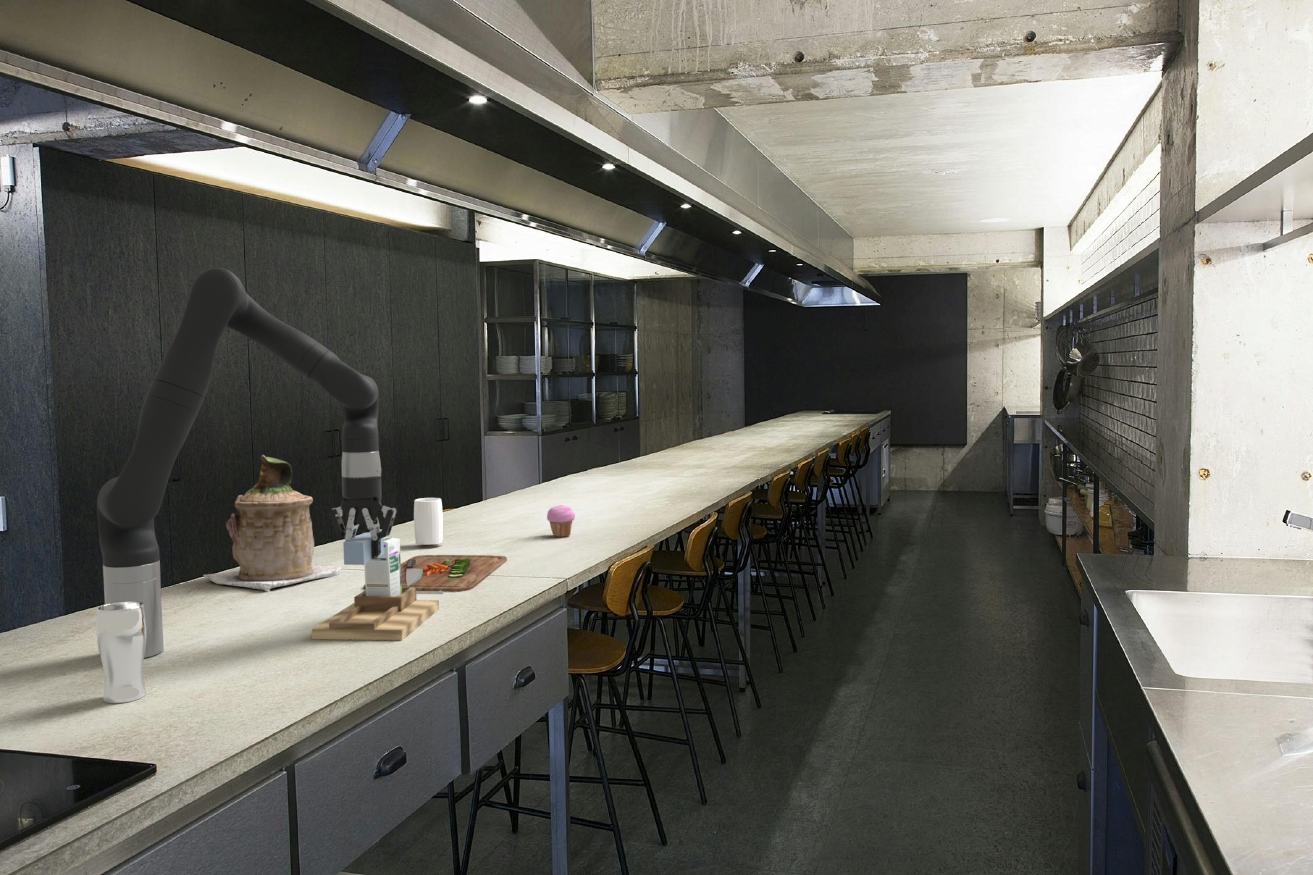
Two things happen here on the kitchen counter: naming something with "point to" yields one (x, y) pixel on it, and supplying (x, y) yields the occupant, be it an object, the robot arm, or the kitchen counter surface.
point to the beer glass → (122, 649)
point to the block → (359, 550)
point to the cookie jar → (272, 534)
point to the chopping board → (447, 572)
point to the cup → (428, 521)
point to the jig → (378, 617)
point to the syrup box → (385, 571)
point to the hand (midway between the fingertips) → (364, 557)
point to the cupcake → (561, 520)
